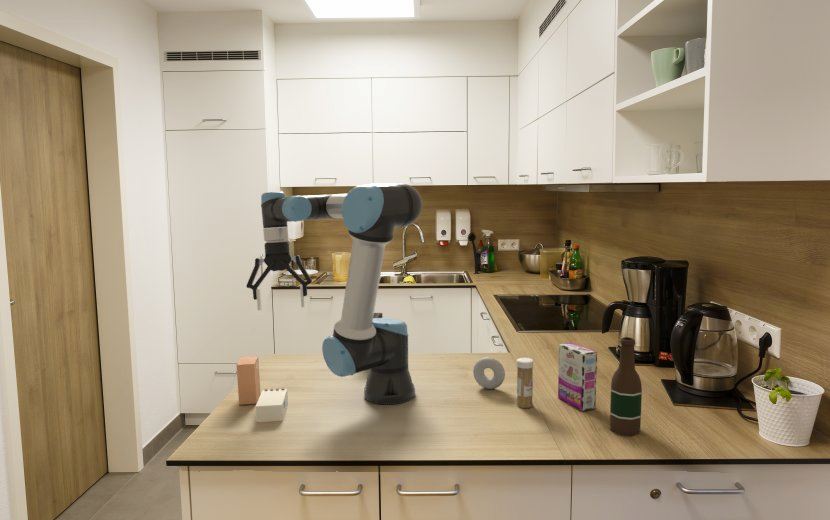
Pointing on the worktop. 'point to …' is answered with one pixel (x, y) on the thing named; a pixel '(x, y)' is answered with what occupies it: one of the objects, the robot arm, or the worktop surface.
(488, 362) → the donut
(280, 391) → the white button box
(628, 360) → the beer bottle
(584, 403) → the candy bar box
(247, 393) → the brown box
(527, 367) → the sprinkles bottle
